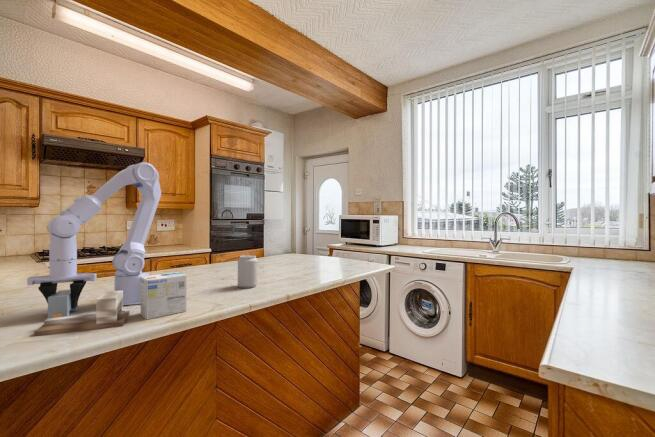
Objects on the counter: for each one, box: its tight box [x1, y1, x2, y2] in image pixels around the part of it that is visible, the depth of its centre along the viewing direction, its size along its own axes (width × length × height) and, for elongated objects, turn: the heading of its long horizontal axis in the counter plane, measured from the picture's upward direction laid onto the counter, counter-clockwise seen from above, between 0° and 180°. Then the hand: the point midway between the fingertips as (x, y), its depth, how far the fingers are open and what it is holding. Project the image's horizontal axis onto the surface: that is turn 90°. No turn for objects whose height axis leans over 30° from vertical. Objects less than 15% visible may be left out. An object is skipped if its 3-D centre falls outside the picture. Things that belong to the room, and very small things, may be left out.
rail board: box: [33, 290, 131, 337], centre depth 77 cm, size 17×9×7 cm, turn 114°
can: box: [237, 254, 259, 289], centre depth 119 cm, size 8×8×12 cm
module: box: [47, 288, 79, 318], centre depth 84 cm, size 4×9×6 cm, turn 24°
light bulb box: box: [140, 271, 188, 320], centre depth 87 cm, size 11×7×11 cm, turn 135°
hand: (63, 308), depth 84 cm, fingers closed on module, 4 cm apart
